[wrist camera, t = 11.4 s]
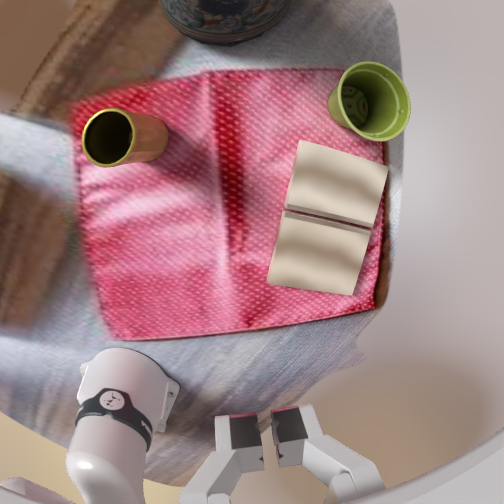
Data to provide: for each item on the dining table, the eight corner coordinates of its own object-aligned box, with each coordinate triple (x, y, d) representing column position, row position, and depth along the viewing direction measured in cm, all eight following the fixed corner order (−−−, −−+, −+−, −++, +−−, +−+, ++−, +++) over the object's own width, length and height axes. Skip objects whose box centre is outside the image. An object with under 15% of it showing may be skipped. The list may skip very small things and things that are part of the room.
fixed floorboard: (367, 224, 43) (372, 228, 41) (283, 205, 41) (286, 208, 39) (383, 165, 40) (389, 167, 38) (299, 140, 38) (302, 140, 36)
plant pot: (319, 142, 38) (344, 143, 30) (309, 74, 35) (332, 59, 27) (380, 138, 39) (414, 140, 31) (371, 75, 35) (404, 64, 27)
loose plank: (347, 291, 46) (352, 295, 44) (266, 279, 43) (268, 284, 42) (366, 228, 43) (371, 231, 41) (282, 210, 41) (285, 212, 39)
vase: (171, 116, 35) (145, 102, 22) (166, 163, 37) (137, 174, 24) (126, 114, 34) (80, 103, 21) (121, 160, 36) (74, 172, 23)
